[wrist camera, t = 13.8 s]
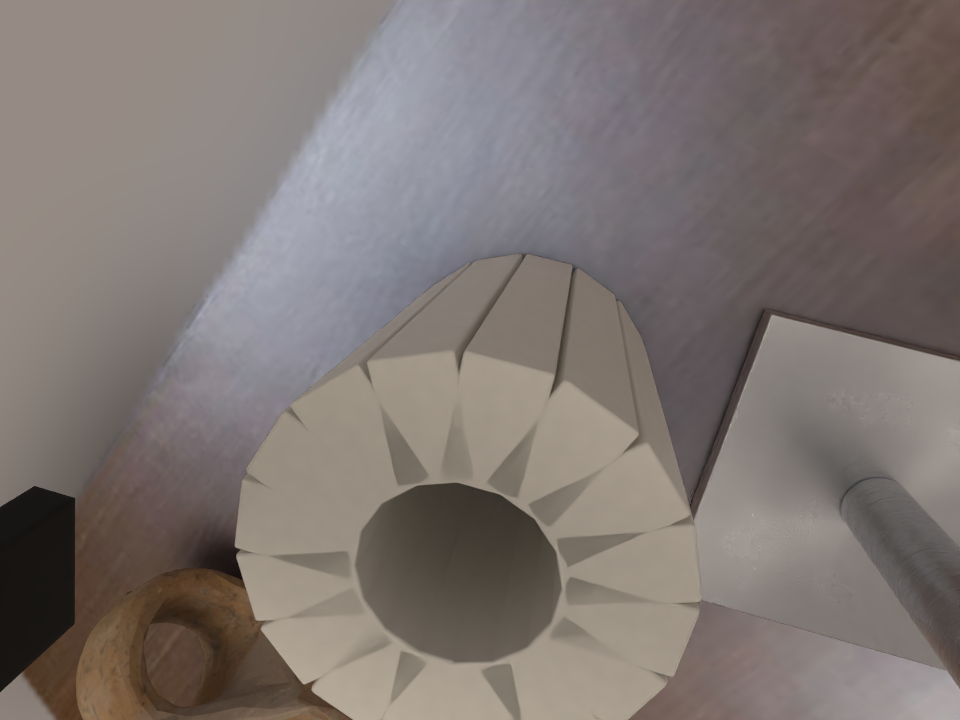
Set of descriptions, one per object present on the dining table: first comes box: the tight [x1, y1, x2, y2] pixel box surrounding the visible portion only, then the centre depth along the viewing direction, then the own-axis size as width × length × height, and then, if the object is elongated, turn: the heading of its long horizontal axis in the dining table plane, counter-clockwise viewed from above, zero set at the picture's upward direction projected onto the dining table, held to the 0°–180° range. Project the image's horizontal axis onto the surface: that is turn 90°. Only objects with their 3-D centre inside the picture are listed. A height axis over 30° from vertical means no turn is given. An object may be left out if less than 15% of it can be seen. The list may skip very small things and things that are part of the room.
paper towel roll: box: [235, 254, 702, 720], centre depth 20 cm, size 10×10×13 cm
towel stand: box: [690, 309, 960, 688], centre depth 19 cm, size 12×12×14 cm
